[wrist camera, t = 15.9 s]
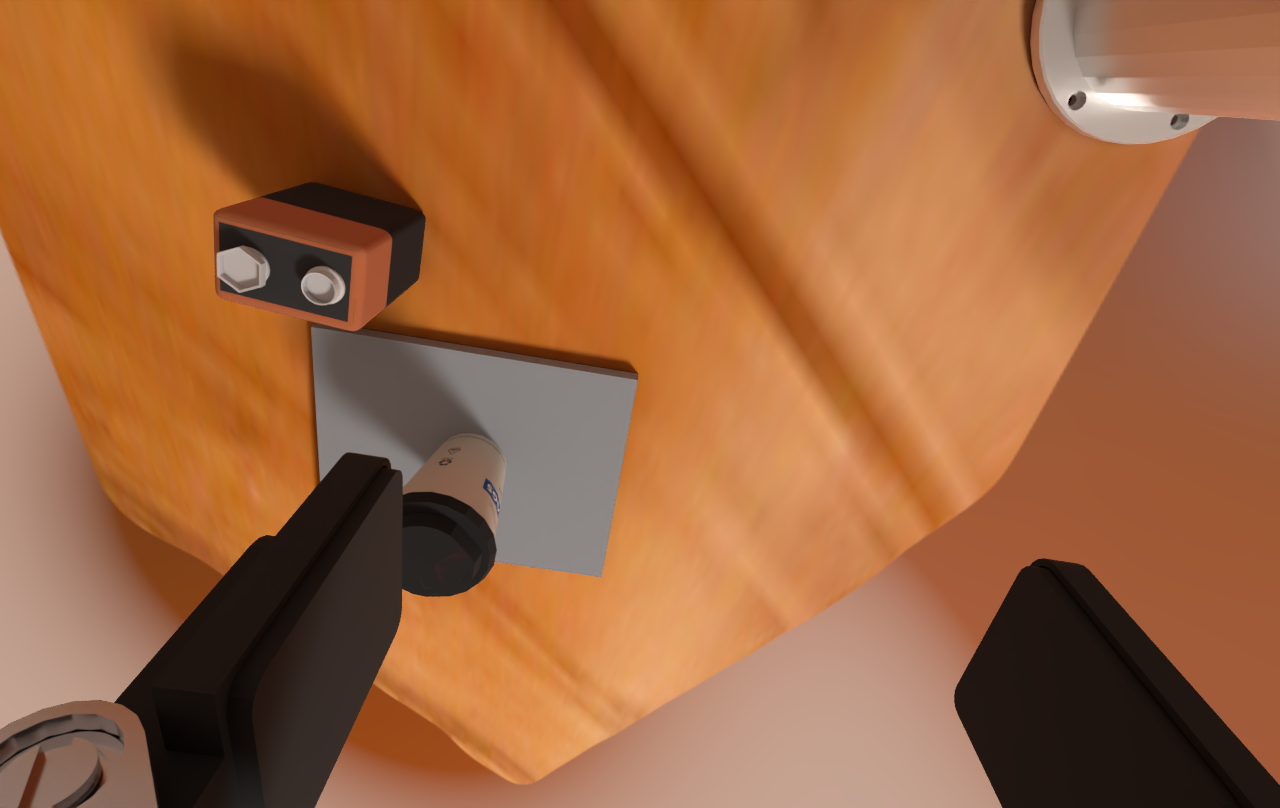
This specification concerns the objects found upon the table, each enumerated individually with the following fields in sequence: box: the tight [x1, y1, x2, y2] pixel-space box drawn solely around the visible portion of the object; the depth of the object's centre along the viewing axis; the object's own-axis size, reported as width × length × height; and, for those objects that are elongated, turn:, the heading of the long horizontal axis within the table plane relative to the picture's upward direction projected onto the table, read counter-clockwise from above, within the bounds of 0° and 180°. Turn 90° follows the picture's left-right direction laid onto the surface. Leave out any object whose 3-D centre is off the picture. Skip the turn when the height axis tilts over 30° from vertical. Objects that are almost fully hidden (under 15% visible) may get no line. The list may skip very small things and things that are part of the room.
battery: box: [214, 182, 425, 331], centre depth 33 cm, size 4×7×10 cm, turn 75°
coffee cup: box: [402, 433, 507, 597], centre depth 39 cm, size 7×7×10 cm
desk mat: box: [311, 323, 638, 577], centre depth 44 cm, size 20×16×1 cm
